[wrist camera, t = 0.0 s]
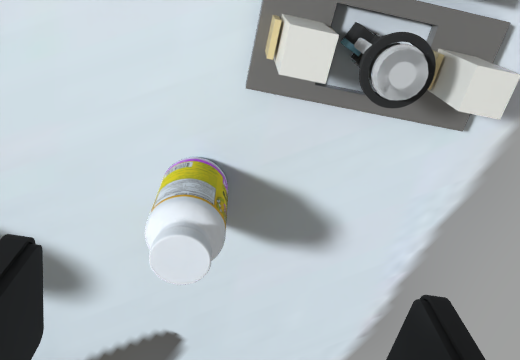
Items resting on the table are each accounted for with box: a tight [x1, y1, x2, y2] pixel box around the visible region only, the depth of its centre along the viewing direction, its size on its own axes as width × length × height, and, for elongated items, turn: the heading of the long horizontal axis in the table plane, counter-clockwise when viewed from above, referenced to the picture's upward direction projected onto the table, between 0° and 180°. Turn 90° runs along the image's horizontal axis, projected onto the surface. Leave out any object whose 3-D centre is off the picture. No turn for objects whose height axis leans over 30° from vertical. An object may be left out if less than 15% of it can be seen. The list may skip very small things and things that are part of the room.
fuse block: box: [246, 0, 520, 131], centre depth 35 cm, size 10×21×8 cm, turn 78°
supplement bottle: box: [145, 157, 228, 285], centre depth 38 cm, size 7×7×13 cm
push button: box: [341, 22, 436, 108], centre depth 34 cm, size 7×5×10 cm
